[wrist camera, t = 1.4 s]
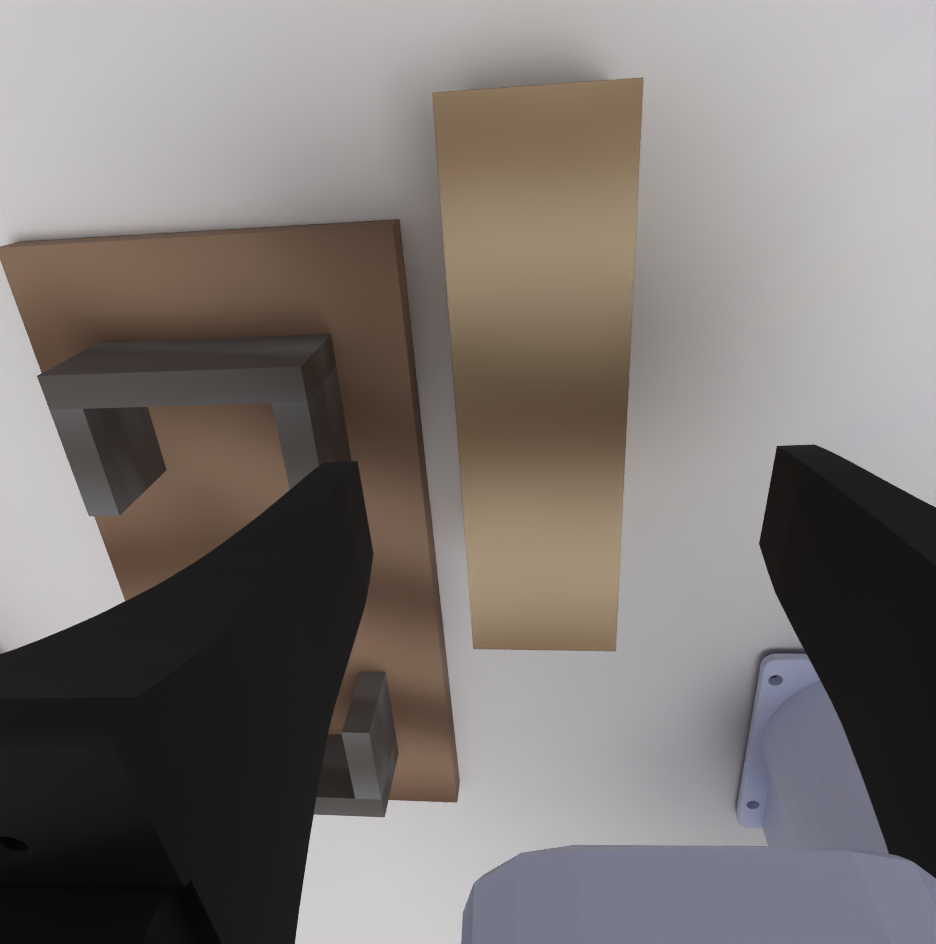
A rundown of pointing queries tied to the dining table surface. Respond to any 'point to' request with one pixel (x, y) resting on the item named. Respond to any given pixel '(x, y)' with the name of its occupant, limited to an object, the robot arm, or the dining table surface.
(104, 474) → the bracket board
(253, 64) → the dining table surface
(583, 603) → the rail
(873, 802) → the robot arm
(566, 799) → the dining table surface
